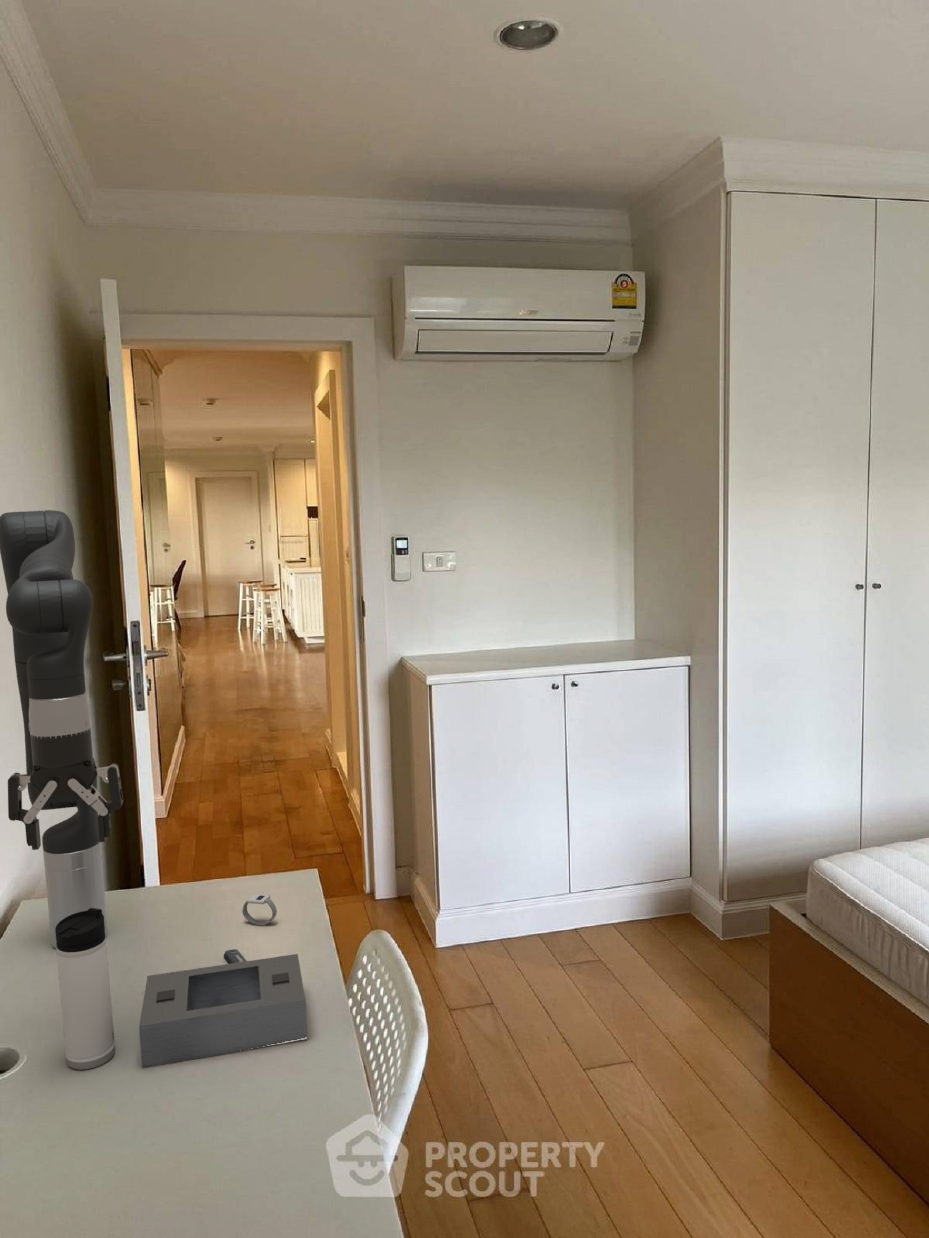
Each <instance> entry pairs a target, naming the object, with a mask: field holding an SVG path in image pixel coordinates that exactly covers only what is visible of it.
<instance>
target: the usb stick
mask: <svg viewBox="0 0 929 1238" xmlns="http://www.w3.org/2000/svg"><path fill="white" fill-rule="evenodd" d="M223 957H224V959H225V961H226V962H227V964H232V963H239V962H245V961H247V959H245V957H244V955H243V954H241V952H240V951H239V950H238V949H237V948H236V949H235V948H234V949H228V950H225V951H224V954H223Z"/></svg>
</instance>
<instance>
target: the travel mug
mask: <svg viewBox="0 0 929 1238" xmlns="http://www.w3.org/2000/svg"><path fill="white" fill-rule="evenodd" d="M55 934H56V941H57V942H56V948H55V950H56V958H57V970H58V971H57V974H58V982H59V983H58V984H59V985H58V986H59V993H60V994H59V995H60V1005H61V1007H60V1008H61V1017H62V1028H63V1039H64V1040H63V1041H64V1051H65V1061H66V1064H67V1066H68V1067H70V1068H71V1069H74V1070H81V1071H83V1070H89V1069H94V1068H97V1067H99V1066H102V1065H104V1064H105V1063H107V1062H108V1061H109V1060H111V1059H112V1058H113V1056H114V1055H115V1052H116V1045H115V1044H116V1042H115V1032H114V1031H115V1030H114V1019H113V1009H112V1008H113V1007H112V994H111V983H110V982H111V981H110V969H109V957H108V945H107V936H105V924H104V915H103V914H102V910H101V909H96V908H90V909H88V910H87V911H82V912H78V913H75V914H72V915H70V916H68V917H66V918H64V919H63V920H61V921H60V922H59V923H58V924H57V926H56V928H55Z"/></svg>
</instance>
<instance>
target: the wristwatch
mask: <svg viewBox="0 0 929 1238" xmlns="http://www.w3.org/2000/svg"><path fill="white" fill-rule="evenodd" d="M249 904H255V905H256V904H257V905H266V904H267V905H268V906H269V907H270V909H271V913H272V915H271V917H270V919H267V920H258V919H256V918H254V917H252V916H251V915H250V913H249V911H248V905H249ZM242 915H243V918H244V919H246V920H247V921H248V922H249V923H251V924H253V925H256V926H265V925H268V924H269V923H271V922H272V921H273V920H274V918H276V917H277V906H276V904H275V903H274V902H273V900H272V899H271V895H267V894H255V893H253V894H252V895H251V896H250V897H248V899H247V900H246V901H245V903H244V904H243V906H242Z"/></svg>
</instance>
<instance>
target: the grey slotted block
mask: <svg viewBox="0 0 929 1238" xmlns="http://www.w3.org/2000/svg"><path fill="white" fill-rule="evenodd" d="M304 990H305V989H304V983H303V978H302V973H301V965H300V959H299V954H298V953H295V954H289V955H281V956H274V957H267V958H260V959H253V960H246V961H245V962H239V963H232V964H229V963H225V964H220V965H219V964H218V965H212V966H211V965H210V966H206V967H198V968H193V969H191V968H190V969H186V970H179V971H171V972H170V971H169V972H166V973H158V974H152V975H147V977H146V981H145V989H144V995H143V1001H142V1006H141V1007H142V1008H141V1014H140V1019H139V1024H138V1025H139V1026H138V1029H139V1031H138V1032H139V1041H140V1043H139V1044H140V1055H141V1068H142V1069H144V1068H149V1067H156V1066H162V1065H167V1064H174V1063H178V1062H186V1061H191V1060H197V1059H204V1058H209V1057H215V1056H220V1055H227V1054H233V1052H234V1053H238V1052H237V1051H240V1050H246V1051H249V1050H248V1049H251V1048H257V1047H263V1046H267V1045H271V1044H277V1043H282V1042H285V1041H291V1040H297V1039H301V1038H305V1037H307V1038H308V1022H307V1020H308V1019H307V1005H306V995H305V991H304ZM240 1052H241V1051H240Z"/></svg>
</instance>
